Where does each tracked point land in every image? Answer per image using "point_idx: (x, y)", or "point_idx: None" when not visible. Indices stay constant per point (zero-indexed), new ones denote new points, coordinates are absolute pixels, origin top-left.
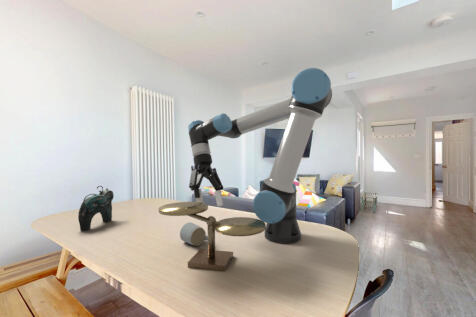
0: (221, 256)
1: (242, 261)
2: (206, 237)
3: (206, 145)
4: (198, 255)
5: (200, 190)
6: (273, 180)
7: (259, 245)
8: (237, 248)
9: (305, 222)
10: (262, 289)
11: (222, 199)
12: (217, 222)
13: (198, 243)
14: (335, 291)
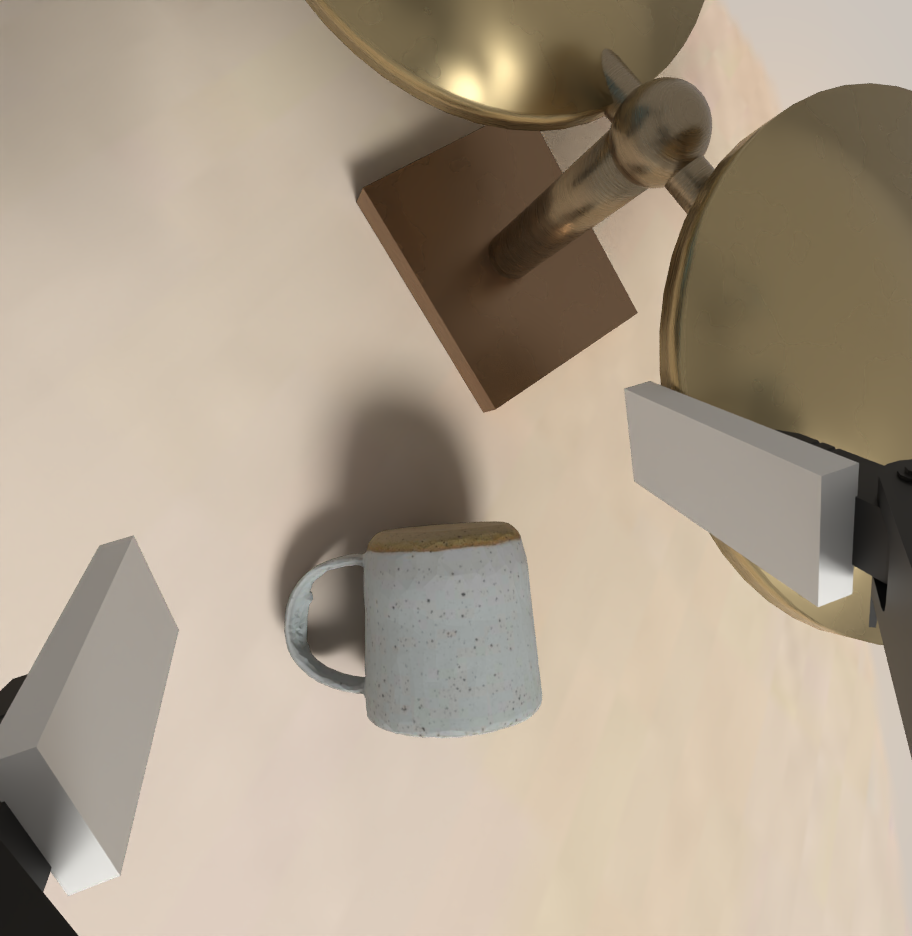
0: (465, 206)
1: (361, 108)
2: (343, 557)
3: None
4: (556, 335)
5: (819, 453)
6: None
7: (32, 151)
8: (233, 267)
9: None
10: None
11: (70, 599)
12: (630, 69)
13: (436, 525)
14: None
